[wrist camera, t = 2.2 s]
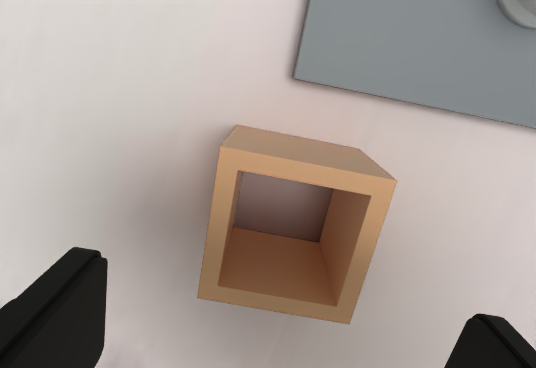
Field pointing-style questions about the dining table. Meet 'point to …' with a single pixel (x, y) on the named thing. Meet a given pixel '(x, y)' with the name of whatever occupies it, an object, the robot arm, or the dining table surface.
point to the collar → (291, 249)
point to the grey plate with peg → (427, 53)
